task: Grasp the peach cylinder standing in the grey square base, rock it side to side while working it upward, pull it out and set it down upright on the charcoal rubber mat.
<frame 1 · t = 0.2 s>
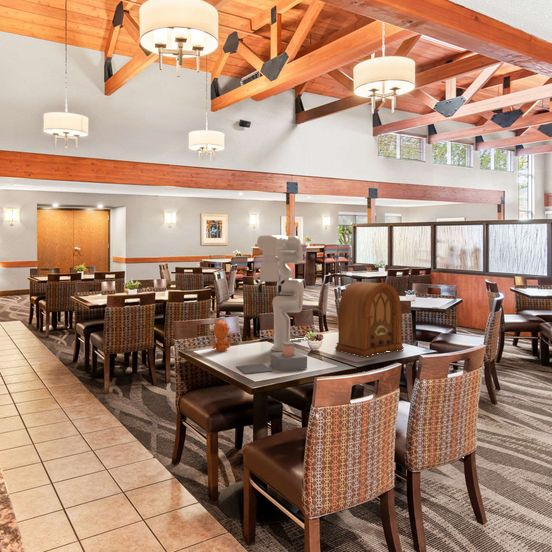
hand: (269, 292, 246), 37 cm above the table, tool pointing down, fingers open, 9 cm apart
clipboard: (285, 339, 314), on the table
peach cylinder: (288, 362, 241), point 2 cm above the table, touching grey square base
radio: (369, 350, 279), on the table
grey square base: (288, 366, 241), on the table
toy dinosaur: (221, 350, 277), on the table
mat: (254, 369, 235), on the table
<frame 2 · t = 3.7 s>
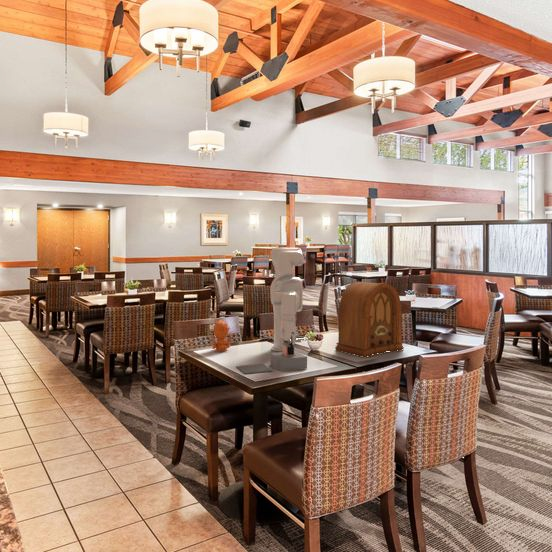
hand: (288, 353, 240), 7 cm above the table, tool pointing down, fingers closed on peach cylinder, 4 cm apart
peach cylinder: (288, 362, 241), point 2 cm above the table, touching gripper, grey square base
everything else where it was.
when the fingers open (7 cm above the table, at t = 11.1 s): peach cylinder drops 1 cm, resting on mat.
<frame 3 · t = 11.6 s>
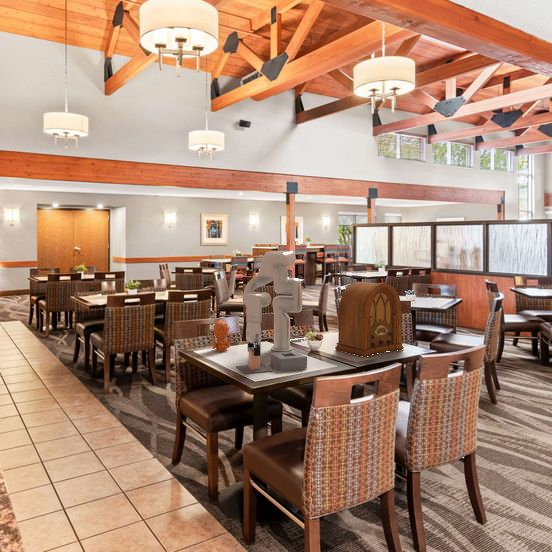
hand: (254, 353, 235), 8 cm above the table, tool pointing down, fingers open, 9 cm apart
peach cylinder: (254, 368, 235), point 1 cm above the table, touching mat
everything else where it was.
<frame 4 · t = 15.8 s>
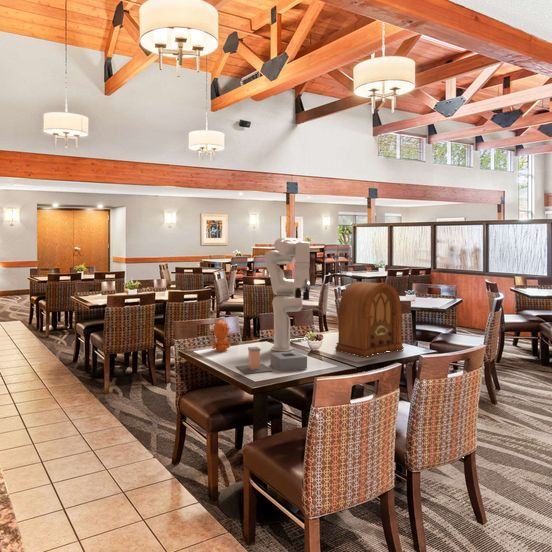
hand: (302, 298, 248), 33 cm above the table, tool pointing down, fingers open, 9 cm apart
nothing on the table moved.
at the end: peach cylinder inside the target area on the mat (0.1 cm from its centre), point 0.6 cm above the mat's base; peach cylinder tilted 0°; peach cylinder touching mat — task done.
